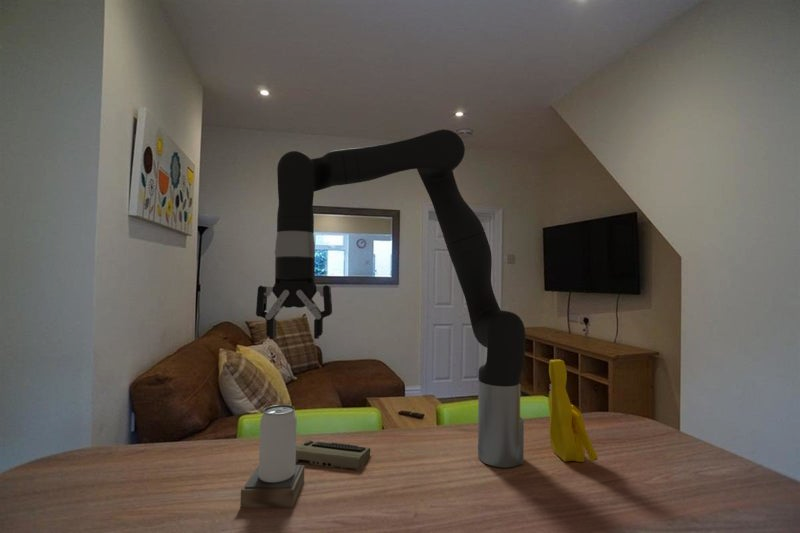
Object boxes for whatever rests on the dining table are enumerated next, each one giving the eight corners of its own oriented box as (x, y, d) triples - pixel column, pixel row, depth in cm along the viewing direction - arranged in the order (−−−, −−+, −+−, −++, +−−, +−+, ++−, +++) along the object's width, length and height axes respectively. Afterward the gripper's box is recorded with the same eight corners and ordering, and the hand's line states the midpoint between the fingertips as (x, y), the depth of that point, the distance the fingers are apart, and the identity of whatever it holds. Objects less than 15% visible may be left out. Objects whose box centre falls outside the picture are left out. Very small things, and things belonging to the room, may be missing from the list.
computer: (370, 456, 88) (371, 441, 88) (359, 473, 80) (359, 456, 80) (307, 448, 91) (307, 434, 91) (290, 464, 83) (290, 448, 83)
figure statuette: (606, 475, 79) (605, 368, 80) (570, 476, 79) (569, 368, 80) (563, 440, 97) (563, 353, 98) (533, 441, 96) (533, 353, 97)
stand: (304, 481, 75) (304, 463, 76) (293, 507, 66) (293, 488, 67) (257, 481, 75) (258, 463, 75) (240, 507, 66) (240, 488, 66)
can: (250, 479, 69) (252, 412, 70) (275, 464, 75) (276, 402, 76) (279, 487, 67) (281, 417, 67) (302, 471, 73) (304, 406, 73)
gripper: (334, 257, 80) (333, 335, 79) (264, 257, 79) (263, 336, 78) (329, 254, 72) (328, 341, 72) (252, 254, 72) (251, 342, 71)
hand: (294, 338), depth 75 cm, fingers open, 8 cm apart
